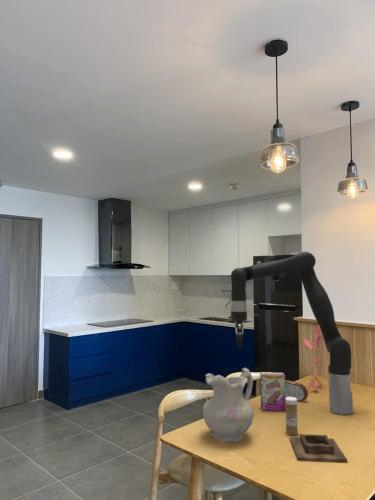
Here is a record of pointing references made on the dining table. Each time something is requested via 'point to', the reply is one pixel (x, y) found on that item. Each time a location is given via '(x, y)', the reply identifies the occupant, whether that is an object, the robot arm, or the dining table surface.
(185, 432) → the dining table surface
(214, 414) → the ceramic pitcher
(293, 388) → the grey brown oval slab
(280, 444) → the dining table surface
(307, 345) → the pink branching piece
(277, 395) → the candy bar box
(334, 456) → the walnut stand
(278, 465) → the dining table surface
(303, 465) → the dining table surface
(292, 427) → the spice jar
